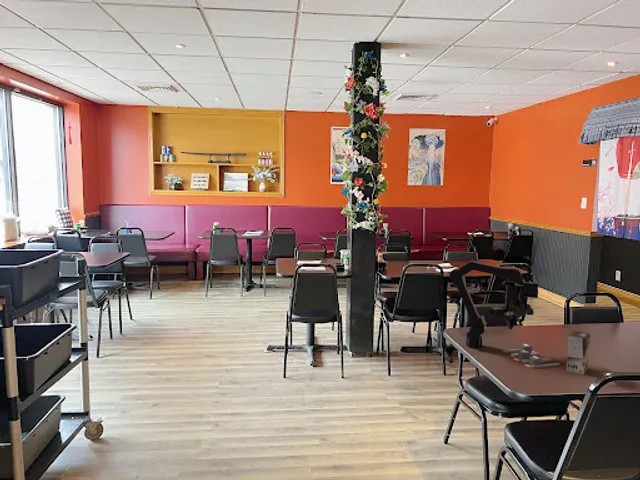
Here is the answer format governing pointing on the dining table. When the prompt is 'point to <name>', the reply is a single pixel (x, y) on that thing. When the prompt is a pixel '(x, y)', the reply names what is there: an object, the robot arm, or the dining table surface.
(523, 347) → the tab
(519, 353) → the tab
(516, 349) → the switch board
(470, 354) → the dining table surface
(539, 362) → the tab
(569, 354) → the coffee box
